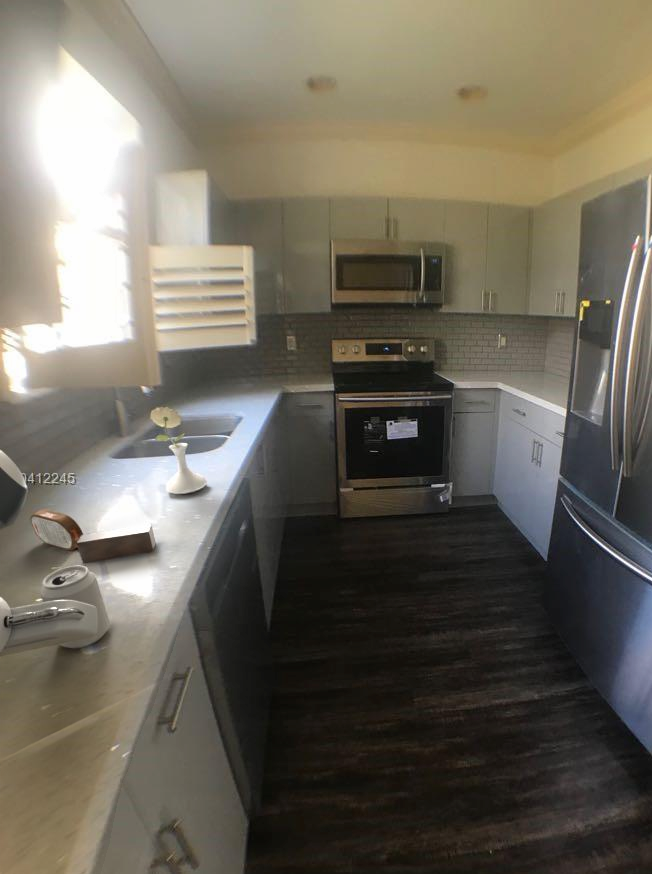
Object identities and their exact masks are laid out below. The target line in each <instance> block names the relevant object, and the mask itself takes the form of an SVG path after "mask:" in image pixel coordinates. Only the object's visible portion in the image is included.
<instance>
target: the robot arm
mask: <svg viewBox="0 0 652 874" xmlns="http://www.w3.org/2000/svg"><path fill="white" fill-rule="evenodd" d="M28 492H29V486H28V485H27V482H26V479H25V477H24V475H23V473H22V472H21V470H20V469H19V467H18V466H17V465H16V463H15V462H14V461H13V460H12V459H11V457H10V456H8V455H7V454H6V453H5V452H4V451H3V450H2V449H0V530H3V529H5V528H8V527H10V526H12V525H14V523H15V522H16V520H17V519H18V517H19V515H20V513H21V512H22V510H23V507H24V505H25V503H26V500H27V496H28ZM97 624H98V619H97V609H96V607H95V606H93V605H90V604H87V603H83V602H79V601H74V600H55V601H48V602H43V601H42V602H37V603H32V604H27V605H21V606H17V607H10V606H9V604H8V602H7V601H6V600H5V599H4V598H3V597H2V596H0V657H4V656H10V655H15V654H19V653H23V652H28V651H33V650H38V649H42V648H47V647H48V648H49V647H52V646H57V645H59V644H62V643H67V642H72V641H76V640H81V639H86V638H90V637H92V636H94V635H95V634H96V632H97Z"/></svg>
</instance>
